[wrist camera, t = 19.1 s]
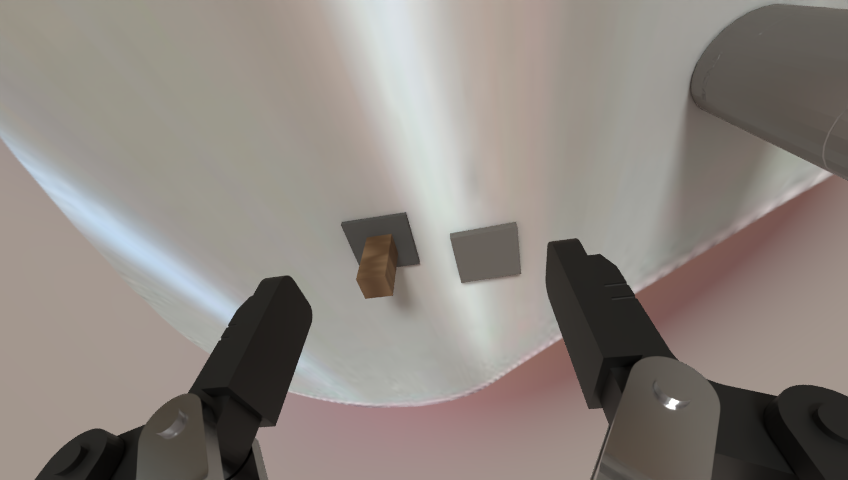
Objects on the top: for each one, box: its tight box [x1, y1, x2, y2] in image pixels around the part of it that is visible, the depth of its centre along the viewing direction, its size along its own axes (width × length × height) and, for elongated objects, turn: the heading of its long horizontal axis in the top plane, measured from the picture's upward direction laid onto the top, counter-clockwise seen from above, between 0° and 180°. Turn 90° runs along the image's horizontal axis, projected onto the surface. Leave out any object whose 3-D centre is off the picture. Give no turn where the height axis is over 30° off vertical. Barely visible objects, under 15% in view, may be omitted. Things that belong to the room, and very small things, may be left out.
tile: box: [450, 222, 521, 283], centre depth 46 cm, size 9×2×9 cm
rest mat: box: [341, 213, 420, 267], centre depth 46 cm, size 9×9×1 cm
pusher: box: [356, 234, 398, 299], centre depth 42 cm, size 4×4×8 cm
